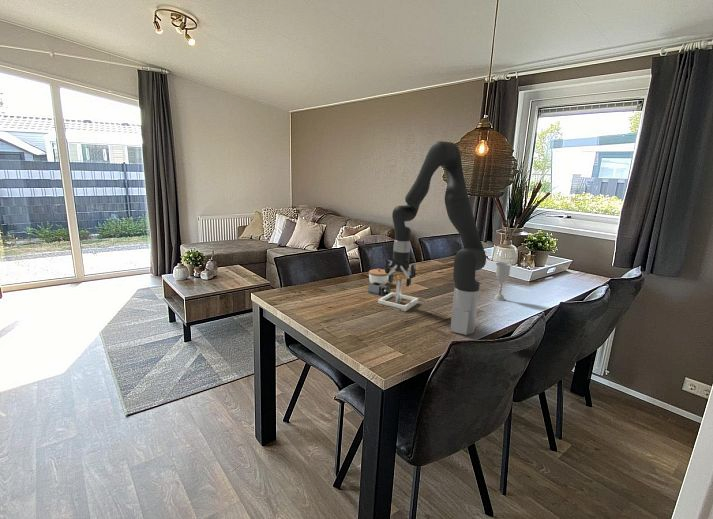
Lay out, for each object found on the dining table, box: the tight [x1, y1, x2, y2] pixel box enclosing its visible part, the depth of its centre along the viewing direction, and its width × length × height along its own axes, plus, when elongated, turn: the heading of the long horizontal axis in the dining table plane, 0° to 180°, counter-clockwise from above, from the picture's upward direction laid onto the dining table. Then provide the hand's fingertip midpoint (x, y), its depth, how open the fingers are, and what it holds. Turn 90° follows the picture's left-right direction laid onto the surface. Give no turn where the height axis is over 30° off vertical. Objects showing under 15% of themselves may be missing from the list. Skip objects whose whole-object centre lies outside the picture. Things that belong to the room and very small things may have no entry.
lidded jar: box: [368, 267, 389, 285], centre depth 203 cm, size 11×11×9 cm
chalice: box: [493, 262, 513, 302], centre depth 187 cm, size 7×7×18 cm
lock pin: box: [394, 274, 404, 304], centre depth 175 cm, size 3×3×13 cm
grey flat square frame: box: [377, 291, 419, 312], centre depth 176 cm, size 14×14×2 cm
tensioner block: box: [364, 282, 395, 298], centre depth 189 cm, size 9×12×5 cm
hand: (399, 284), depth 174 cm, fingers open, 8 cm apart
